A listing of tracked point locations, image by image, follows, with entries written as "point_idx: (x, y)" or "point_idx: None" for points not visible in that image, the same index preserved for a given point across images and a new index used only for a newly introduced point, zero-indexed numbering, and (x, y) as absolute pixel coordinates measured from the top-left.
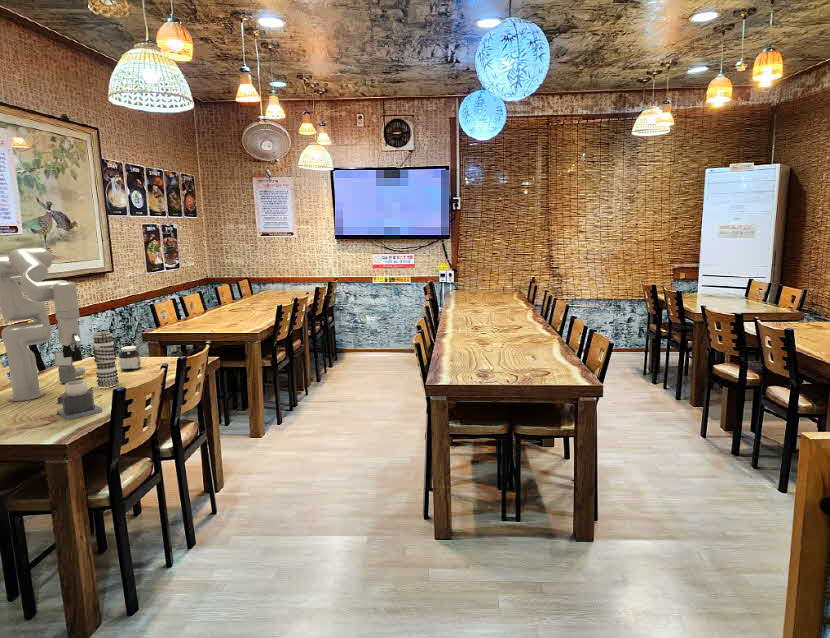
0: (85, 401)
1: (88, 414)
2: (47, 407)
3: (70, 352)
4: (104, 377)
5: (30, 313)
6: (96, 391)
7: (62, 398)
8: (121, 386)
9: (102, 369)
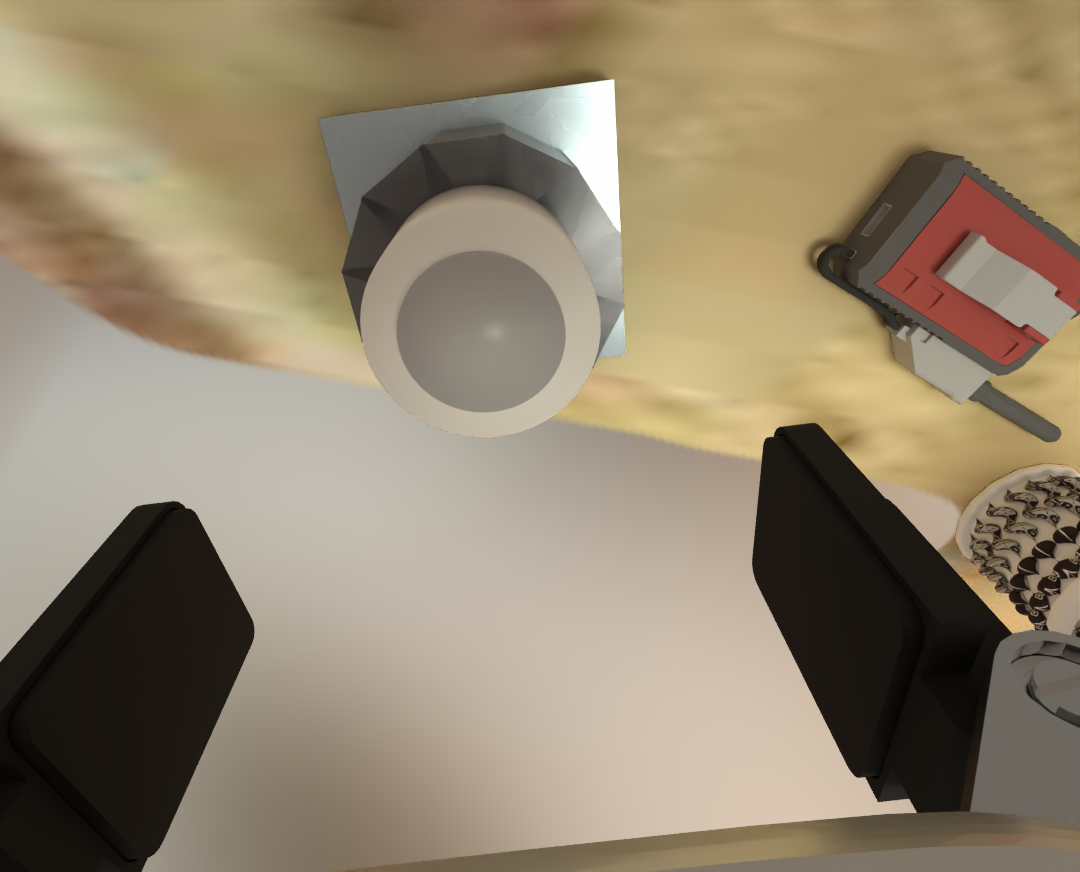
0: None
1: None
2: (893, 44)
3: (796, 616)
4: (1040, 548)
5: None
6: (972, 440)
7: (478, 135)
8: None
9: None
